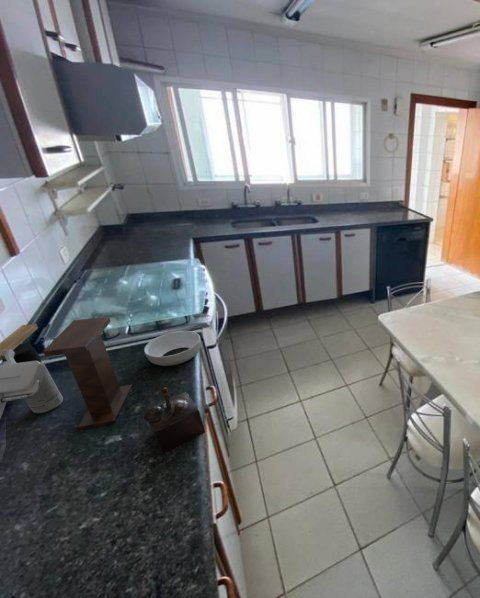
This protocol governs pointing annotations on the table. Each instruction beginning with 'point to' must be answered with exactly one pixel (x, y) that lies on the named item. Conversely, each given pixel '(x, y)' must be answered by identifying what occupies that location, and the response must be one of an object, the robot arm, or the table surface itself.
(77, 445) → the table surface
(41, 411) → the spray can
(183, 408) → the dark brown boxy piece
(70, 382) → the table surface
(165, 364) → the cereal bowl
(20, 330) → the wooden plank
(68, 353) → the walnut stand
